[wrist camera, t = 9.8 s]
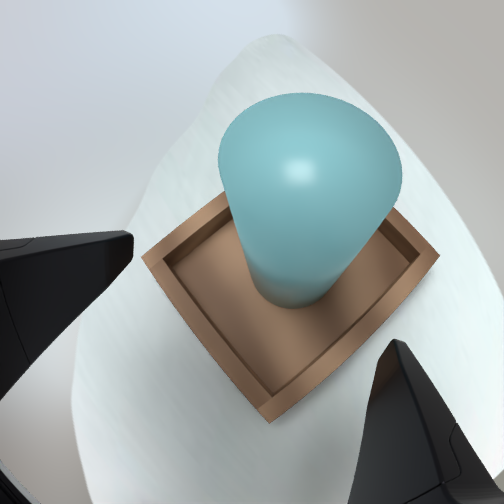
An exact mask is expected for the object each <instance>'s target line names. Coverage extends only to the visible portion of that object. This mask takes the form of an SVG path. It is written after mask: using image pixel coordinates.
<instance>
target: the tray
mask: <svg viewBox="0 0 504 504" xmlns="http://www.w3.org/2000/svg"><path fill="white" fill-rule="evenodd" d="M439 256H440V255H439V254H438V253H437V252H436V251H435V249H434V248H433V247H432V246H431V245H430V244H429V243H428V242H427V241H426V240H425V239H424V237H423V236H422V235H421V234H420V233H419V232H418V231H417V230H416V229H415V228H414V227H413V226H412V225H411V224H410V223H409V222H408V221H407V220H406V219H405V218H404V217H403V216H402V215H401V214H400V213H399V212H398V211H397V210H396V209H395V208H394V207H392V209H391V210H390V212H389V213H388V215H387V216H386V217H385V219H384V220H383V221H382V223H381V224H380V226H379V227H378V228H377V230H376V231H375V232H374V234H373V235H372V236H371V238H370V239H369V240H368V241H367V243H366V244H365V245H364V247H363V248H362V249H361V251H360V252H359V253H358V254H357V256H356V257H355V258H354V259H353V261H352V262H351V263H350V264H349V266H348V267H347V268H346V269H345V271H344V272H343V273H342V274H341V276H340V277H339V278H338V279H337V281H336V282H335V283H334V284H333V285H332V287H331V288H330V289H329V290H328V291H327V293H326V294H325V295H324V296H323V297H322V298H321V299H319V300H318V301H317V302H315V303H313V304H312V305H309V306H307V307H303V308H297V309H288V308H283V307H279V306H276V305H274V304H272V303H270V302H269V301H267V300H266V299H265V298H264V297H263V296H262V295H261V294H260V293H259V292H258V291H257V289H256V288H255V286H254V284H253V281H252V278H251V275H250V272H249V269H248V265H247V262H246V259H245V256H244V252H243V249H242V246H241V243H240V239H239V236H238V233H237V229H236V226H235V223H234V220H233V216H232V213H231V210H230V206H229V203H228V200H227V196H226V193H225V191H224V192H222V193H221V194H220V195H218V196H217V197H216V198H214V199H213V200H212V201H210V202H209V203H208V204H206V205H205V206H204V207H203V208H201V209H200V210H199V211H197V212H196V213H195V214H193V215H192V216H191V217H190V218H188V219H187V220H186V221H185V222H183V223H182V224H181V225H179V226H178V227H177V228H176V229H174V230H173V231H172V232H171V233H170V234H168V235H167V236H166V237H165V238H163V239H162V240H161V241H160V242H158V243H157V244H156V245H155V246H154V247H152V248H151V249H150V250H149V251H148V252H146V253H145V254H144V255H143V256H142V257H141V258H142V259H143V261H144V262H145V264H146V266H147V267H148V269H149V270H150V272H151V273H152V275H153V276H154V278H155V279H156V281H157V282H158V284H159V285H160V286H161V288H162V289H163V291H164V292H165V294H166V295H167V297H168V298H169V299H170V301H171V302H172V304H173V305H174V307H175V308H176V309H177V311H178V312H179V314H180V315H181V316H182V318H183V319H184V320H185V322H186V323H187V324H188V326H189V327H190V329H191V330H192V331H193V333H194V334H195V335H196V337H197V338H198V339H199V340H200V342H201V343H202V344H203V346H204V347H205V348H206V350H207V351H208V352H209V353H210V355H211V356H212V357H213V358H214V360H215V361H216V362H217V363H218V365H219V366H220V367H221V368H222V370H223V371H224V372H225V373H226V374H227V376H228V377H229V378H230V379H231V381H232V382H233V383H234V384H235V385H236V386H237V388H238V389H239V390H240V391H241V392H242V394H243V395H244V396H245V397H246V398H247V399H248V400H249V402H250V403H251V404H252V405H253V406H254V407H255V408H256V410H257V411H258V412H259V413H260V414H261V415H262V416H263V417H264V418H265V420H266V421H267V422H268V423H269V424H270V423H271V422H272V421H274V420H275V419H276V418H278V417H279V416H280V415H282V414H283V413H284V412H286V411H287V410H288V409H289V408H291V407H292V406H293V405H294V404H296V403H297V402H298V401H299V400H301V399H302V398H303V397H304V396H306V395H307V394H308V393H309V392H310V391H312V390H313V389H314V388H315V387H316V386H317V385H319V384H320V383H321V382H322V381H323V380H324V379H326V378H327V377H328V376H329V375H330V374H331V373H332V372H333V371H335V370H336V369H337V368H338V367H339V366H340V365H341V364H342V363H343V362H344V361H345V360H346V359H348V358H349V357H350V356H351V355H352V354H353V353H354V352H355V351H356V350H357V349H358V348H359V347H360V346H361V345H362V344H363V343H364V342H365V341H366V340H367V339H368V338H369V337H370V336H371V335H372V334H373V333H374V332H375V331H376V330H377V329H378V328H379V327H380V326H381V325H382V324H383V323H384V321H385V320H386V319H387V318H388V317H389V316H390V315H391V314H392V313H393V312H394V311H395V309H396V308H397V307H398V306H399V305H400V304H401V303H402V302H403V300H404V299H405V298H406V297H407V296H408V295H409V294H410V292H411V291H412V290H413V289H414V288H415V286H416V285H417V284H418V283H419V282H420V280H421V279H422V278H423V277H424V275H425V274H426V273H427V272H428V270H429V269H430V268H431V267H432V265H433V264H434V263H435V262H436V260H437V259H438V258H439Z"/></svg>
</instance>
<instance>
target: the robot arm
mask: <svg viewBox="0 0 504 504" xmlns="http://www.w3.org/2000/svg"><path fill="white" fill-rule="evenodd" d="M133 249H134V237H133V235H132V234H131V233H129V232H126V231H124V230H121V231H107V232H93V233H81V234H69V235H56V236H45V237H36V238H23V239H10V240H0V401H1V399H2V398H3V397H4V396H5V394H6V393H7V392H8V391H9V390H10V389H11V388H12V386H13V385H14V384H15V383H16V382H17V381H18V380H19V378H20V377H21V376H22V375H23V374H24V373H25V371H26V370H27V369H28V368H29V367H30V366H31V365H32V364H33V363H34V361H35V360H36V359H37V358H38V357H39V356H40V355H41V354H42V353H43V352H44V350H46V349H47V348H48V346H49V345H50V344H51V343H52V342H53V341H54V340H55V339H56V338H57V337H58V336H59V335H60V334H61V333H62V332H63V331H64V330H65V329H66V328H67V327H68V326H69V325H70V324H71V323H72V322H73V321H74V320H75V319H76V318H77V317H78V316H79V315H80V314H81V313H82V312H83V311H84V310H85V309H86V308H87V307H88V306H89V305H90V304H91V303H92V302H93V301H94V300H95V299H97V298H98V297H99V296H100V295H101V294H102V293H103V292H104V291H105V290H106V289H107V288H108V287H109V286H110V284H111V283H112V282H113V281H114V280H115V279H116V278H117V276H118V275H119V274H120V273H121V272H122V271H123V270H124V269H125V267H126V266H127V265H128V264H129V263H130V262H131V260H132V258H133ZM0 504H41V503H39V501H38V500H36V499H35V498H34V497H33V496H32V495H31V494H30V493H29V492H28V491H27V489H26V488H25V487H23V485H22V484H21V483H20V482H19V481H18V480H17V479H16V478H15V477H14V475H13V474H12V473H11V472H10V471H9V470H8V469H7V467H6V466H5V465H4V464H3V463H2V462H1V460H0ZM347 504H504V492H503V491H501V490H500V489H499V488H498V486H497V485H496V484H495V482H494V480H493V479H492V477H491V476H490V474H489V473H488V471H487V469H486V468H485V466H484V465H483V463H482V462H481V460H480V459H479V457H478V456H477V454H476V453H475V451H474V450H473V448H472V446H471V445H470V443H469V442H468V440H467V438H466V437H465V435H464V433H463V432H462V430H461V428H460V426H459V425H458V423H456V420H455V418H454V416H453V415H452V413H451V412H450V410H449V408H448V407H447V405H446V403H445V402H444V400H443V399H442V397H441V395H440V394H439V392H438V391H437V389H436V388H435V386H434V384H433V383H432V381H431V380H430V378H429V377H428V375H427V374H426V372H425V371H424V369H423V368H422V366H421V365H420V363H419V362H418V360H417V359H416V357H415V356H414V354H413V353H412V352H411V350H410V349H409V347H408V346H407V344H406V343H405V342H403V341H400V340H397V339H393V340H392V341H391V342H390V343H389V344H388V346H387V348H386V349H385V350H384V352H383V353H382V355H381V356H380V358H379V360H378V363H377V367H376V371H375V376H374V380H373V385H372V389H371V393H370V397H369V401H368V405H367V411H366V418H365V424H364V430H363V436H362V442H361V447H360V452H359V457H358V462H357V467H356V471H355V476H354V480H353V484H352V488H351V492H350V496H349V500H348V503H347Z"/></svg>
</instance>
